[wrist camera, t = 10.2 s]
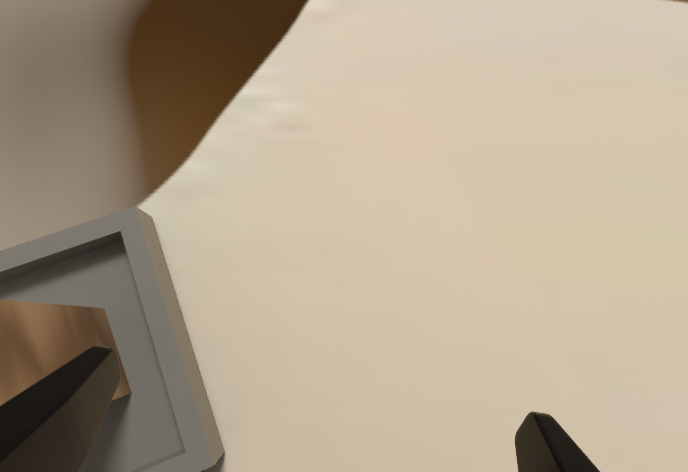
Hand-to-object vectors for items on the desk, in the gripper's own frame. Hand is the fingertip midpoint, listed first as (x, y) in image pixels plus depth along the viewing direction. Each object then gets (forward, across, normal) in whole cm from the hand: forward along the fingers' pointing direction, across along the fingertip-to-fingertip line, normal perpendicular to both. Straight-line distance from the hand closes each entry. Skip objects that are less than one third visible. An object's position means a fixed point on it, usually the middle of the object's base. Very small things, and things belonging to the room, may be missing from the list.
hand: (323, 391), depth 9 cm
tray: (+8, +12, +12) cm, 19 cm away
